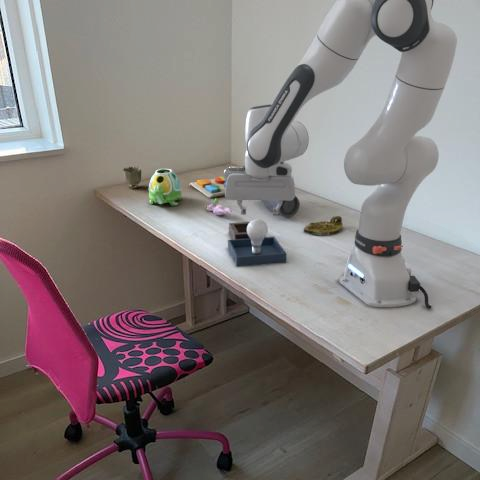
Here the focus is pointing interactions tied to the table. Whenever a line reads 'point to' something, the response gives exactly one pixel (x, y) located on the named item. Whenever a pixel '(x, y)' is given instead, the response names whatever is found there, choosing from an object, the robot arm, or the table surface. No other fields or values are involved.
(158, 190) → the turtle holder
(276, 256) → the tray
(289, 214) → the bluetooth speaker
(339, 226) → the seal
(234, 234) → the stand
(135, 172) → the cup
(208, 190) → the puzzle board
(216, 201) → the rabbit figure
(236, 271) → the table surface
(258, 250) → the lightbulb
